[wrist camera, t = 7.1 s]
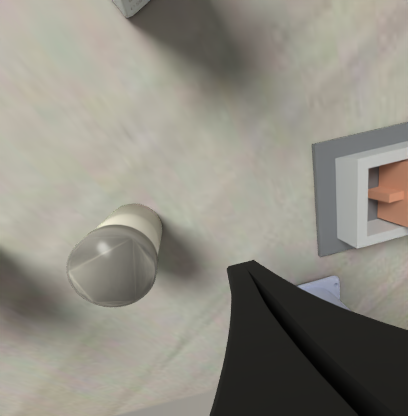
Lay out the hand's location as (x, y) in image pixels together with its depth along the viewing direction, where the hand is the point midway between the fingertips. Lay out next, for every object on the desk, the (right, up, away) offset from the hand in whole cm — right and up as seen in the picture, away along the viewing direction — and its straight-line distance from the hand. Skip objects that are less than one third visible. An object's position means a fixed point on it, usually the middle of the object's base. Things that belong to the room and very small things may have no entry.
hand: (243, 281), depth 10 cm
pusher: (+16, +5, +11) cm, 20 cm away
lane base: (+20, +6, +12) cm, 24 cm away
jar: (-8, +1, +9) cm, 13 cm away
